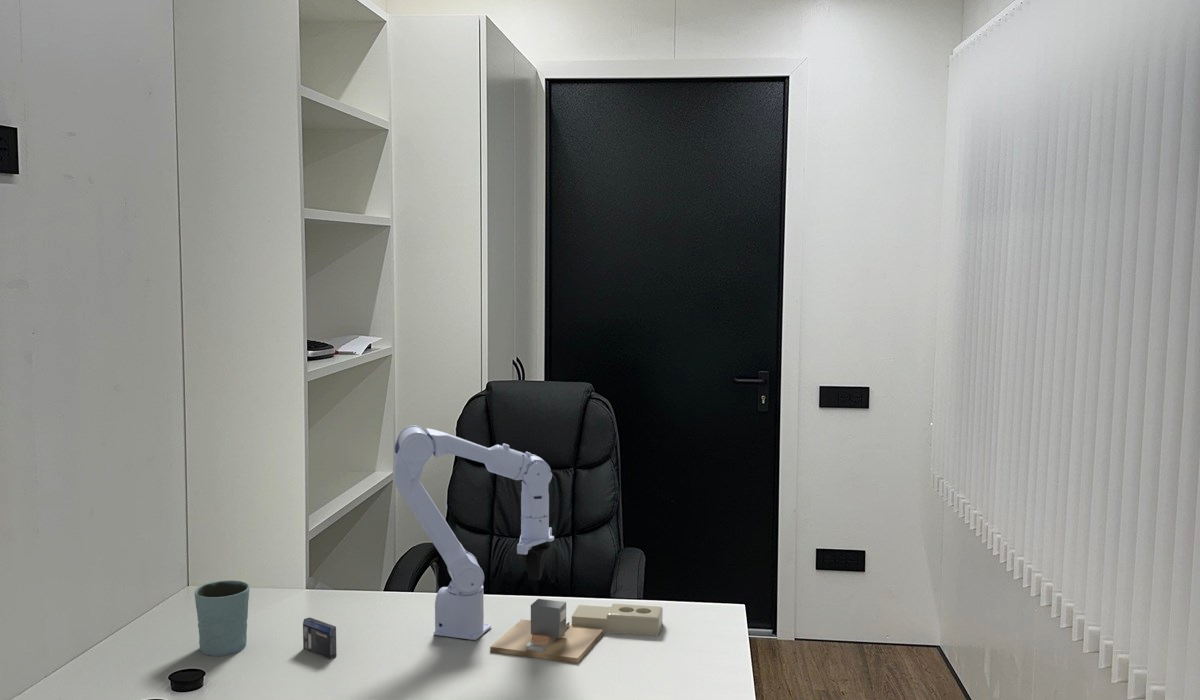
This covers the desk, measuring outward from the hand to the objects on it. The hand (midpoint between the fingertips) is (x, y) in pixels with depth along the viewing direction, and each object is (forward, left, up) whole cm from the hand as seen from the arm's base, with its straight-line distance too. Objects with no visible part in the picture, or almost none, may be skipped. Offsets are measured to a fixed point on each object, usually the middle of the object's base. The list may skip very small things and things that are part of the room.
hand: (535, 579), depth 212 cm
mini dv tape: (-34, -27, -10) cm, 45 cm away
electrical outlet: (+16, +5, -10) cm, 20 cm away
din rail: (+6, -8, -10) cm, 14 cm away
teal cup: (-53, -31, -10) cm, 62 cm away
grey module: (+6, -8, -8) cm, 13 cm away
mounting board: (+6, -8, -10) cm, 14 cm away
